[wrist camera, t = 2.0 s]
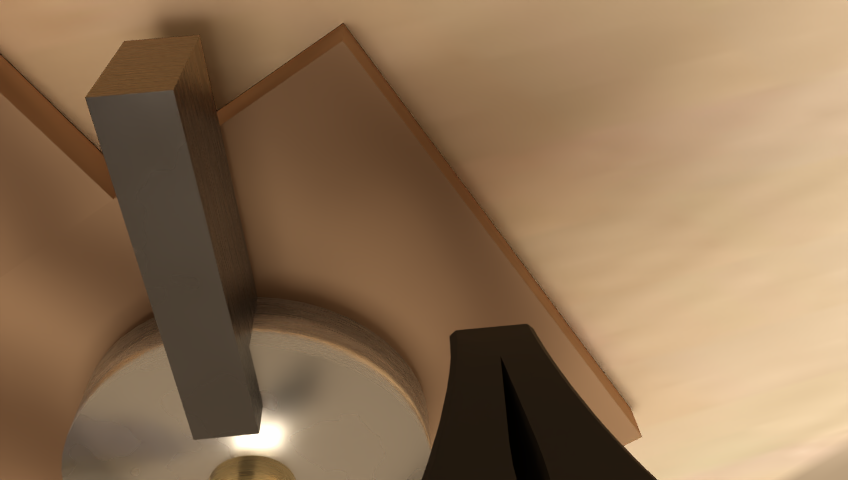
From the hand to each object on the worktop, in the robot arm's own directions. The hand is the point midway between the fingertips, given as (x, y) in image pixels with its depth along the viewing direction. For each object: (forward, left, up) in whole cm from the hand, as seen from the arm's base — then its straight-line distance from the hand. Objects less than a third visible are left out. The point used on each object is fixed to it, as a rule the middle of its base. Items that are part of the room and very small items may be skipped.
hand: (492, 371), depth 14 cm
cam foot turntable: (-7, -1, -7) cm, 10 cm away
